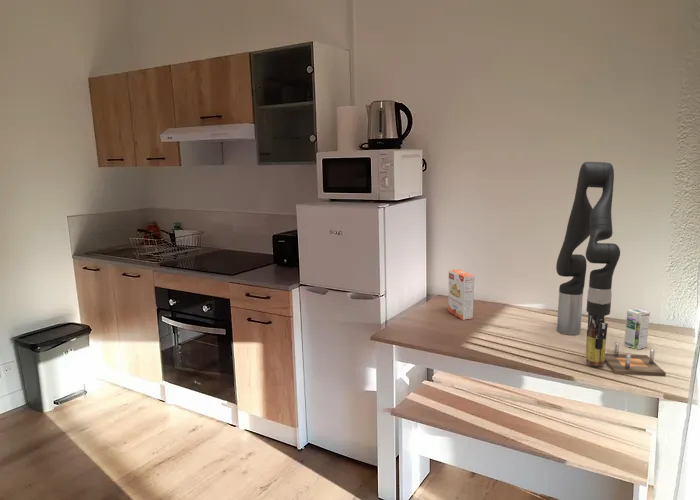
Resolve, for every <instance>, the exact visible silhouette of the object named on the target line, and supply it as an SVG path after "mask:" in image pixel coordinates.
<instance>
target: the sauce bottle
mask: <svg viewBox="0 0 700 500" xmlns="http://www.w3.org/2000/svg"><path fill="white" fill-rule="evenodd" d="M592 319H596V315H593V314H591V322H590V325H589V326H588V325H587V330H586V341H585V343H586V344H585V345H586V346H585V347H586V348H585V359H586V363H587V364H588V365H591V366H595V367H596V366H597V367H600V366H601V367H602V366H603V365H604V364H606V363H605V353H606V349H607V348H606V346H607V345H606V344H607V338H606V339H603V346H602V349H601V350H600V349H596V348H595V341H596V334H595V332H594V327H593V324H592ZM596 329H597V330H598V328H596ZM601 334H602V333H601ZM601 334H600V336H602V335H601Z"/></svg>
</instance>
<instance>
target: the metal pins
mask: <svg viewBox="0 0 700 500" xmlns="http://www.w3.org/2000/svg"><path fill="white" fill-rule="evenodd" d="M619 350H620V342H614V350H613V351H614V352H613V354H614V356H615V357H618V354H620V353H619ZM655 353H656V350H655V349H652V348H651V349H649V356H648V357H649V364H654V362H655V361H654V360H655ZM630 354H631V353H630ZM630 354H629V353H626V363H625V369H630V359H631V355H630Z"/></svg>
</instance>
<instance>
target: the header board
mask: <svg viewBox="0 0 700 500" xmlns="http://www.w3.org/2000/svg"><path fill="white" fill-rule="evenodd" d="M626 354H627V353H626ZM626 354H625V353H618V357H615V356H614V353H609V352H608V353H606V352H605V363H604V364H606V365H607V367H608V368H609V369H610V370H611V371H612V372H613V374H614V375H630V376H632V375H633V376H635V375H636V376H650V377H651V376H652V377H653V376H654V377H666V375H667V372H665V371H664V370H663V369H662V367H660V366H659V365H658V364H657V363H656V362H655V361H654V364H649V357H650V356H649V355H647V354H632V353H630V355H631V359H630V369H625V363H626Z"/></svg>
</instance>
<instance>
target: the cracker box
mask: <svg viewBox="0 0 700 500" xmlns="http://www.w3.org/2000/svg"><path fill="white" fill-rule="evenodd" d="M474 296H475V275H473V274H472V273H469V272H466V271H464V270H462V269H449V270H448V297H447V298H448V304H447V305H448V308H447V309H448V313H450V314H451V315H453V316H455V317H456V318H458V319H460V320H461V321H466V319H468V320H474V302H475V301H474V299H475V298H474Z"/></svg>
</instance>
